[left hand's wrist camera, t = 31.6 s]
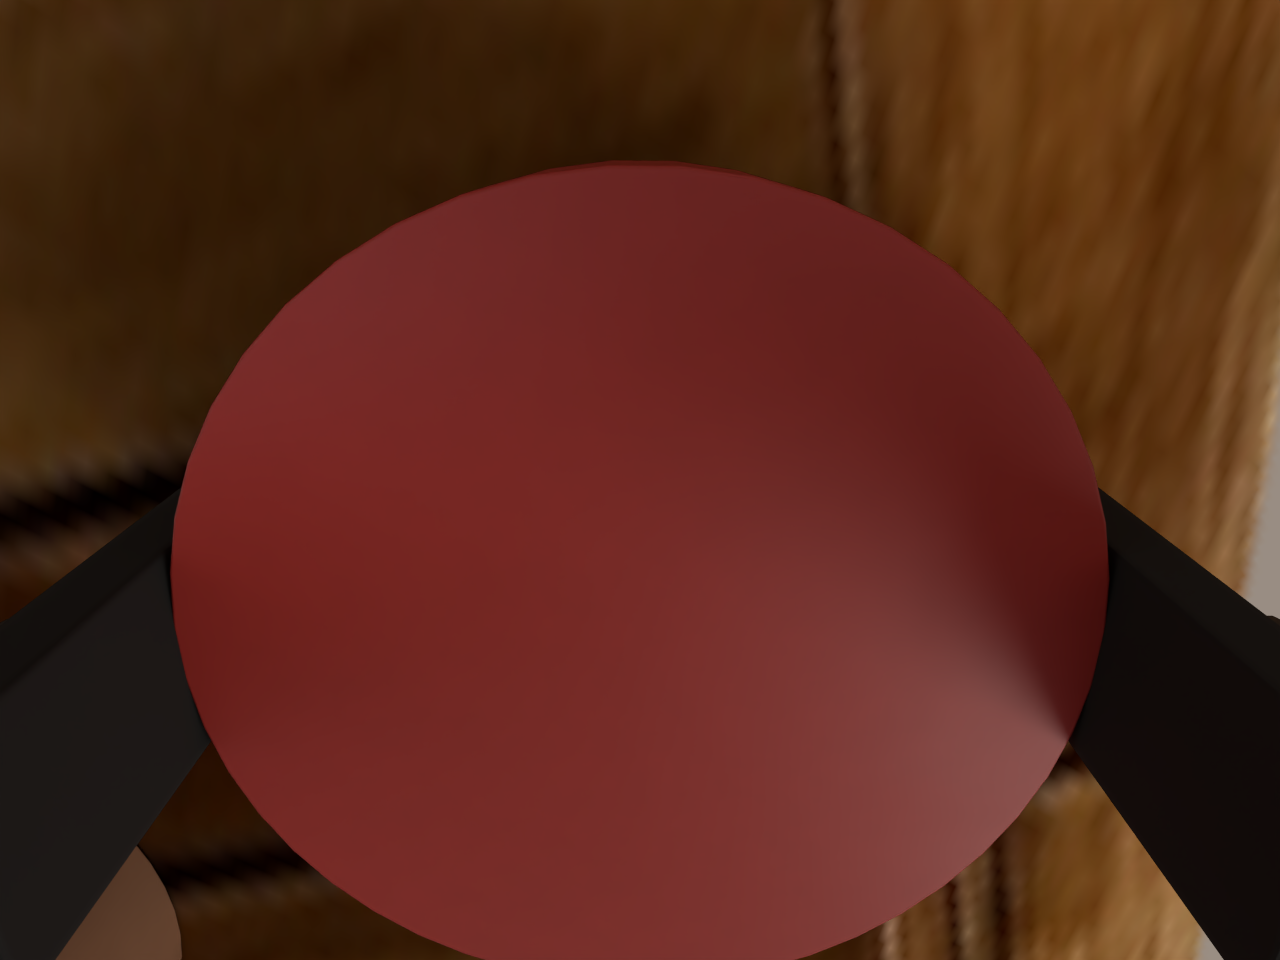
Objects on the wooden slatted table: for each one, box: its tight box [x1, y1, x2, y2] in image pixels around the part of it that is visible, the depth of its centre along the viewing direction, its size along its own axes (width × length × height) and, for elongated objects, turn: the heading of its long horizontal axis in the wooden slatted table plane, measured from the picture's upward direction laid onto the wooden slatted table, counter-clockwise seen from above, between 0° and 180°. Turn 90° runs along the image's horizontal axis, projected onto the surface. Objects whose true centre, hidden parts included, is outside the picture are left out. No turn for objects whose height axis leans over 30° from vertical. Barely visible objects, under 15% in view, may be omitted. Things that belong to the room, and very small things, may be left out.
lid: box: [170, 160, 1109, 960], centre depth 11 cm, size 11×11×2 cm
